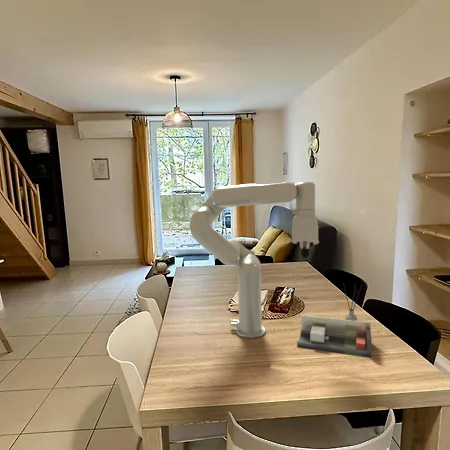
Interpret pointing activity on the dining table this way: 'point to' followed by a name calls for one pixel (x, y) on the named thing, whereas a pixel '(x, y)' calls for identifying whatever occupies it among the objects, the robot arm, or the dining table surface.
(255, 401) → the dining table surface
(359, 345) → the salmon pink rectangular block
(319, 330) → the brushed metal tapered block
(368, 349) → the grey compartment tray
